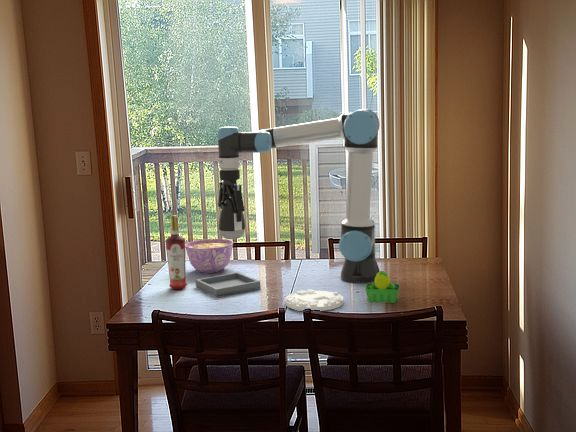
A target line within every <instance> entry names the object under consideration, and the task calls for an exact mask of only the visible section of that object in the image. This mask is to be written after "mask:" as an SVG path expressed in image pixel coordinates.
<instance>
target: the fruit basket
mask: <svg viewBox="0 0 576 432" xmlns="http://www.w3.org/2000/svg"><path fill="white" fill-rule="evenodd" d="M373 282H374V283H372V282H371V283H370V282H367V283H366V286H365V287H364V290H365V292H366V296H367V300H368V302H369V303H379V302H382V303H383V302H391V304H395V303H396V302H397V299H398V294H399V290H400V287H401V285H400V284H399V283H392V282H391V277H389V275H388V274H387V272H386V271H385V270H380V272H378V273H377V275H376V277H375V280H374V281H373Z"/></svg>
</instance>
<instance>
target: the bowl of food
mask: <svg viewBox="0 0 576 432" xmlns="http://www.w3.org/2000/svg"><path fill="white" fill-rule="evenodd" d="M233 245H234V241H233V240H232V239H226V238H206V239H198V240H197V239H196V240H193V241H189V242H187V243H186V242H185V252H186V254H187V257H188V260H189V263H190V265H191V266H192V267H193V269H195V270H197V271H200V272H201V273H204V274H212V273H214V274H215V273H219V272H220V271H221V270H223V269H224V268H226V267H228V265H229V263H230V262H231V258H232V252H233Z"/></svg>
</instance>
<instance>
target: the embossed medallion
mask: <svg viewBox="0 0 576 432" xmlns="http://www.w3.org/2000/svg"><path fill="white" fill-rule="evenodd" d="M284 303H285V306H286V307H287V308H288V309H289V308H291V309H292V310H294V311H296V310H297V312H304V311H303V310H304V309H307V308H310V309H312V310H320V311H319V312H324V311H330V310H334V309H337V308H339V307H341V306H343V305H344V296H342V295H341V294H339V292H338V291H327V290H326V291H325V290H314V289H313V288H311V289H305V290H304V289H300V290H297V291H296V293H294V292H293V293H289V294H288V295H286V297H285V300H284Z"/></svg>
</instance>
